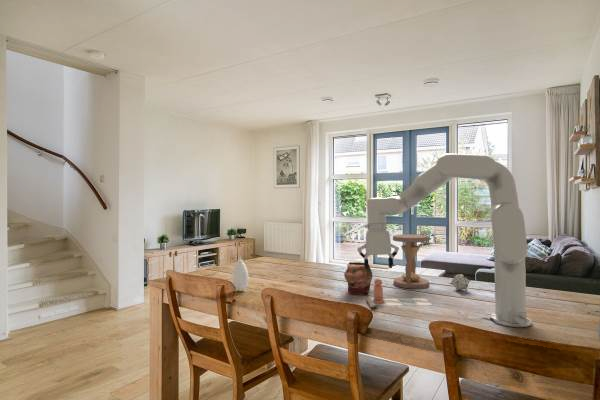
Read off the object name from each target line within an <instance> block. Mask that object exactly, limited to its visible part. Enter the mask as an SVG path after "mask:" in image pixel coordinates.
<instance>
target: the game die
mask: <svg viewBox="0 0 600 400" xmlns="http://www.w3.org/2000/svg"><path fill="white" fill-rule="evenodd" d="M471 281H472V279H469V278H468V277H466V274H463V272H462V273H461V274H455V273H453V278H452V280H451V282H449V285H452V286H453V287H454V288H455V289H456V290H458V291H457V292H458V293H459V292H460V291H462V290H466V291H468V289H467V288H468V287H469V283H470V282H471Z"/></svg>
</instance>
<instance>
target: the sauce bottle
mask: <svg viewBox="0 0 600 400" xmlns="http://www.w3.org/2000/svg"><path fill="white" fill-rule="evenodd" d="M231 279H232V285H233V284H234V285H235V287H236V289H235V290H236V291H237V290H243V289H244V290H246V289H247V287H248V285H249V279H250V278H249V272H248V268H247V266H246V263H244V261H243V259H241V256H239V259H238V260H237V262H236V263H235V265H234V267H233V269H232V275H231ZM244 290H243V291H244Z"/></svg>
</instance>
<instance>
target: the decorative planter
mask: <svg viewBox="0 0 600 400" xmlns="http://www.w3.org/2000/svg"><path fill="white" fill-rule="evenodd" d="M368 265H369V269H367V268H366V267H365V266H364V262H358V261H355V262H353V261H350V262H348V263H347V265H346V266H347V267H346V268H347V269H346V270H345V271H344V274H343V275H344V279H345V280H346V283H347V292H348V293H349V294H352V295H353V294H354V295H359V296H360V295H368V294H369V292H370V289H371V285H372V284H371V282H372V279H373V270H372V269H371V267H370V266H371V265H370V263H368ZM367 293H368V294H367Z"/></svg>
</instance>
